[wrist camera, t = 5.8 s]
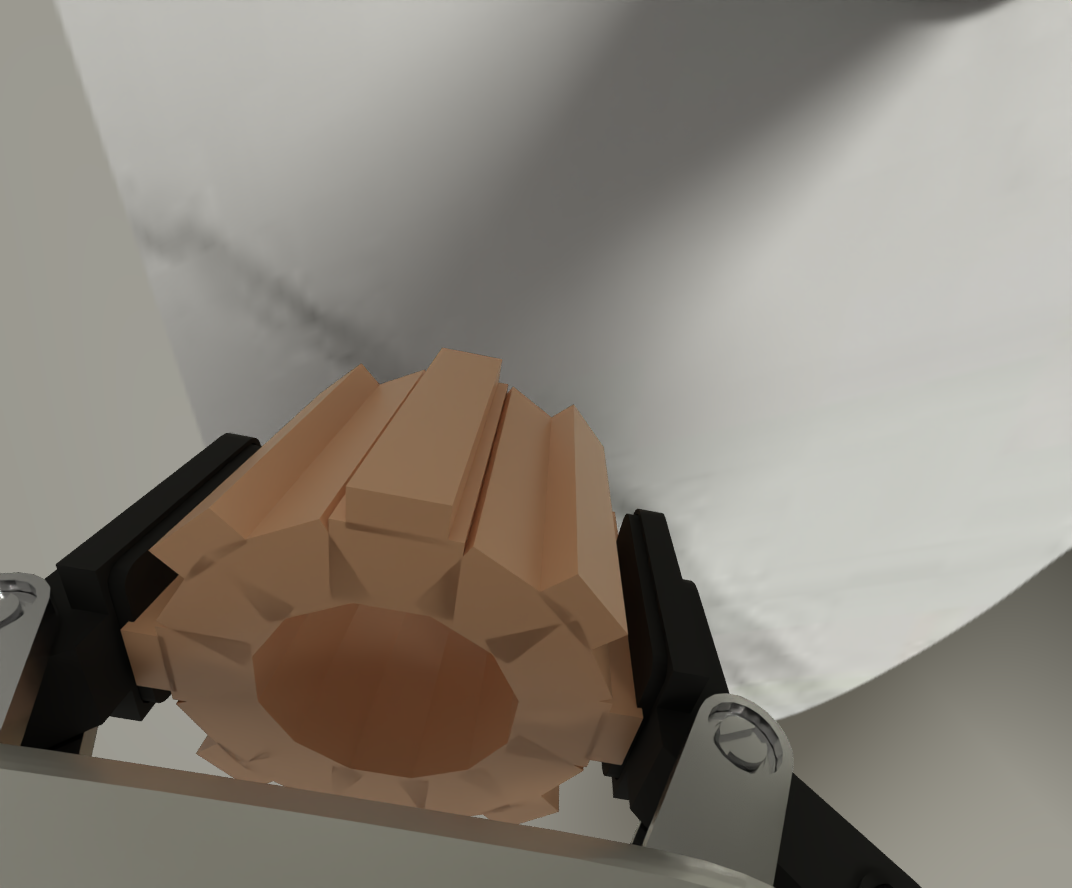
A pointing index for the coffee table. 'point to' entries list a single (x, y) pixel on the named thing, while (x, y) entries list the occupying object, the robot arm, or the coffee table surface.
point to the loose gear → (404, 600)
